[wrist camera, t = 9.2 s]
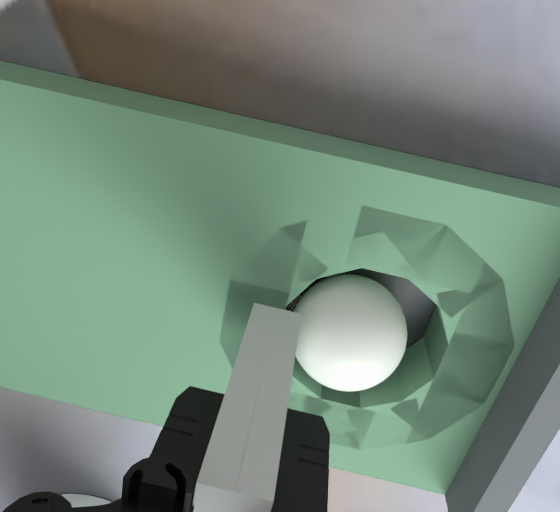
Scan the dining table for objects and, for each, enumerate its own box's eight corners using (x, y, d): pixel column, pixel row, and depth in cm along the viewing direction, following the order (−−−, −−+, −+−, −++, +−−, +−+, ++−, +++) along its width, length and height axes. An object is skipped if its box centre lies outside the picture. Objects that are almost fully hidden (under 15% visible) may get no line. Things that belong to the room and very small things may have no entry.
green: (-201, 292, 22) (-323, 354, 18) (-287, -5, 17) (-489, -14, 13) (456, 450, 21) (483, 550, 17) (587, 194, 16) (669, 253, 12)
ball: (375, 424, 17) (413, 329, 19) (388, 391, 14) (433, 279, 16) (274, 376, 18) (319, 290, 20) (264, 334, 15) (319, 236, 17)
